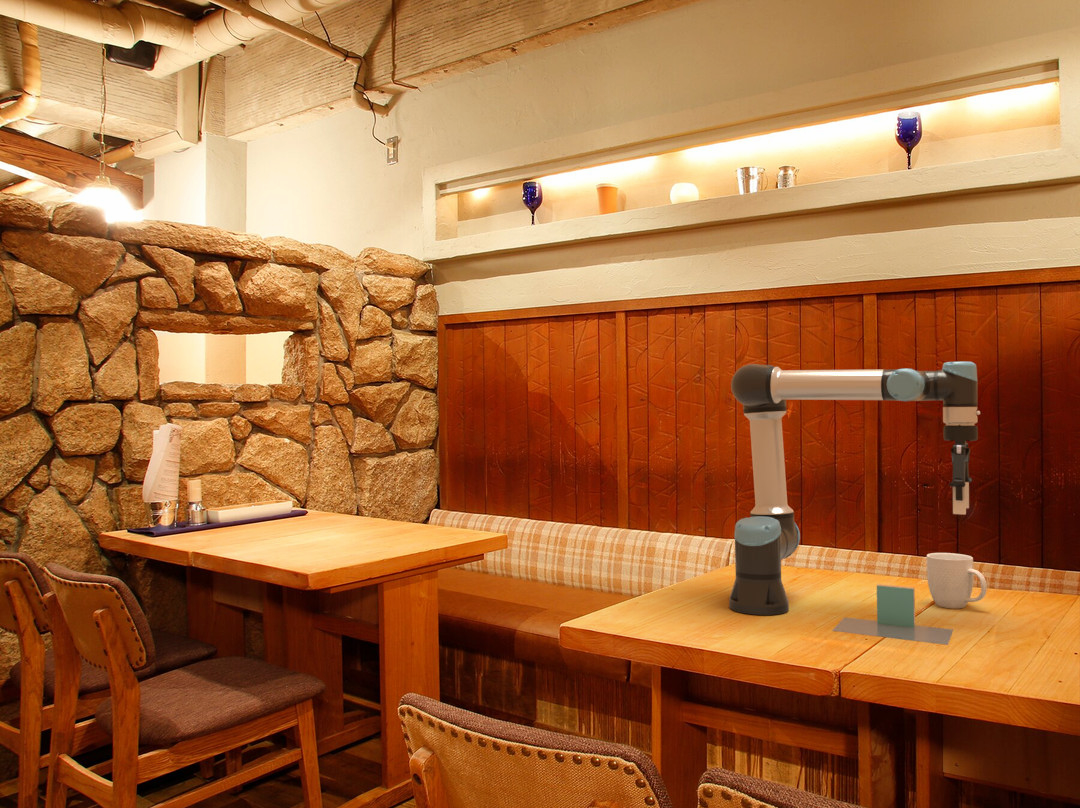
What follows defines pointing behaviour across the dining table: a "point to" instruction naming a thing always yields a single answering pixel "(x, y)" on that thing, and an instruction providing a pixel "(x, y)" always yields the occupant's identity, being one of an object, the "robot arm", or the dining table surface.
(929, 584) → the mug
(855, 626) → the slate board
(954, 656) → the dining table surface
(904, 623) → the tile
